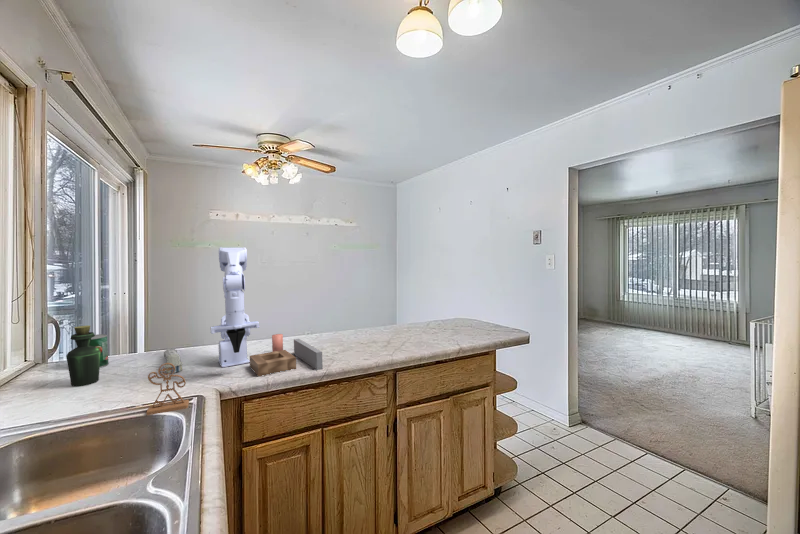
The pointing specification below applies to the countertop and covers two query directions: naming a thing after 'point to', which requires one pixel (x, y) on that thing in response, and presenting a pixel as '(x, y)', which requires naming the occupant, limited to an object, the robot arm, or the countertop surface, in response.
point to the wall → (308, 354)
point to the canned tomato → (101, 347)
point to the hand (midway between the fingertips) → (236, 351)
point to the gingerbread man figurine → (167, 406)
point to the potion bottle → (83, 358)
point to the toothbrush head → (173, 360)
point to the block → (272, 362)
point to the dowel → (277, 342)
